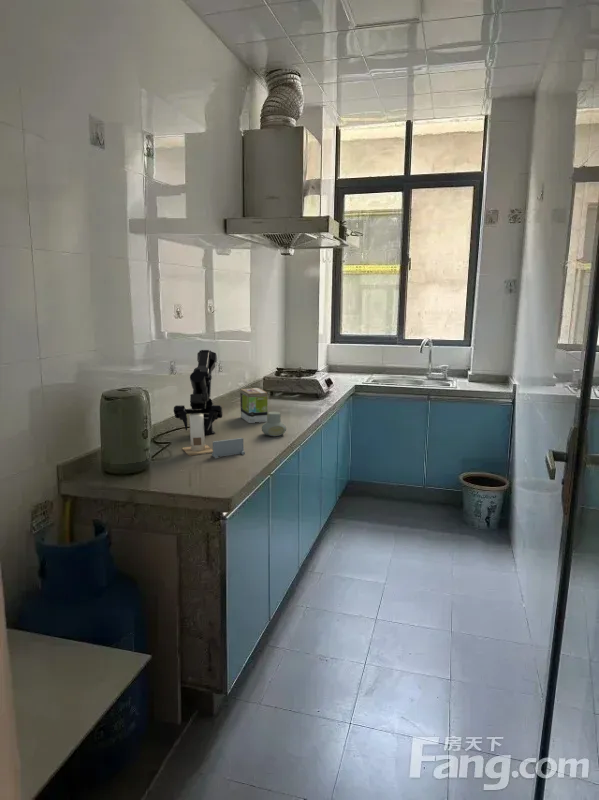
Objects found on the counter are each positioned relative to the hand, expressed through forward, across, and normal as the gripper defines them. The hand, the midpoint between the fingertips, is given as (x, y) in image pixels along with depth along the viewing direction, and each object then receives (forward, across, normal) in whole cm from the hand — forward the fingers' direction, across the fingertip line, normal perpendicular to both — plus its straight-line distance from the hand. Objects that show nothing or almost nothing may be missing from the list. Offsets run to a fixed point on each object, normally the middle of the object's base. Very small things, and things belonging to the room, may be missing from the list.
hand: (196, 430), depth 209 cm
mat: (+5, 0, +7) cm, 9 cm away
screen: (+10, +12, +3) cm, 16 cm away
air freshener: (-11, +30, +24) cm, 40 cm away
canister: (+5, 0, +7) cm, 8 cm away
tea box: (-32, +20, +45) cm, 59 cm away
